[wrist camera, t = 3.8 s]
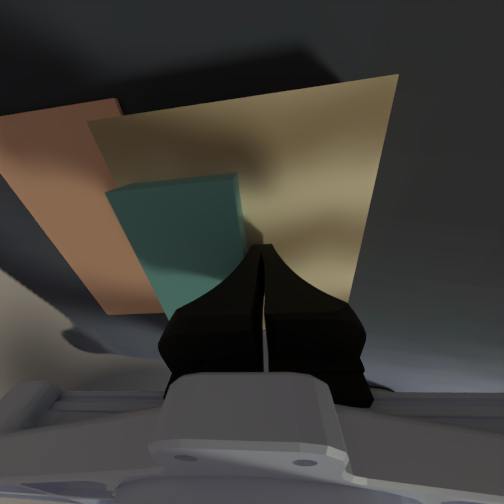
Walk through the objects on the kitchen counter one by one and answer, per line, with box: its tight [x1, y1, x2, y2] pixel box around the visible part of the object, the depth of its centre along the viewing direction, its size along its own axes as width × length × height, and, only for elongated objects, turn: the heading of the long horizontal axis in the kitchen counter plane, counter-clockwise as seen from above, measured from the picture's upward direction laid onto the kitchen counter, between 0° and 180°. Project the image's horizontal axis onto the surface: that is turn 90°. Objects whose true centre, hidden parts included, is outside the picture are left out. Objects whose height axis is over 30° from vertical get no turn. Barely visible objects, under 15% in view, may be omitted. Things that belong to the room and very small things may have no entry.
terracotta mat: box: [0, 98, 165, 315], centre depth 17 cm, size 19×11×1 cm, turn 6°
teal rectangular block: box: [104, 173, 248, 320], centre depth 12 cm, size 10×6×2 cm, turn 6°
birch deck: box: [86, 74, 399, 330], centre depth 14 cm, size 16×14×4 cm
